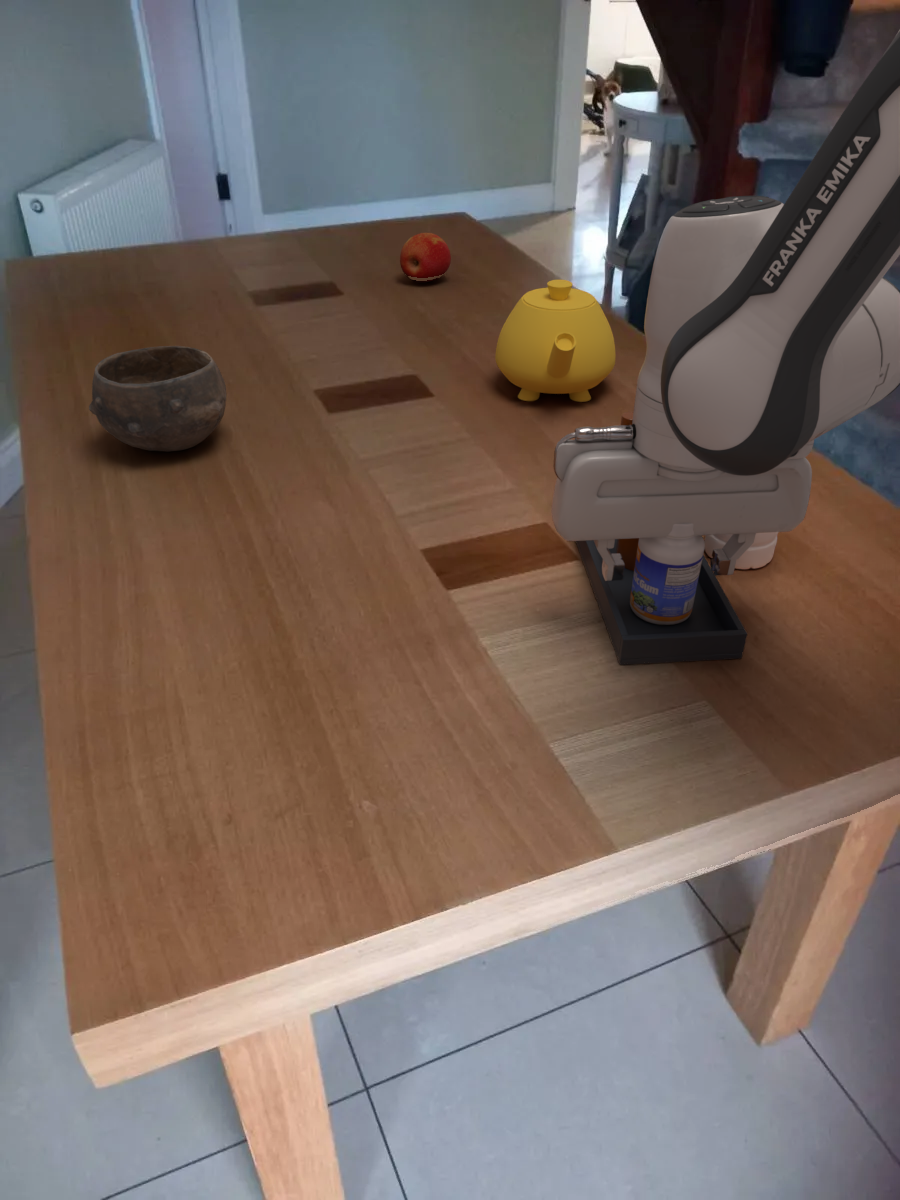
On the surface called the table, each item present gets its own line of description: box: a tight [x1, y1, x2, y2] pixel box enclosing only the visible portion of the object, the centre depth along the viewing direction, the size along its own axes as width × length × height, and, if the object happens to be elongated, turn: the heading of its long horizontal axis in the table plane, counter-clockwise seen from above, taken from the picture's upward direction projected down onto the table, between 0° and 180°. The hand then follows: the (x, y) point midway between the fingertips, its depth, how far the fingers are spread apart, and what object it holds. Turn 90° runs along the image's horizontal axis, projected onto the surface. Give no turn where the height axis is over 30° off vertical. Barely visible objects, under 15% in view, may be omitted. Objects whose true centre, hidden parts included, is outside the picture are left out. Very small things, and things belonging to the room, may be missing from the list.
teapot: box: [494, 279, 617, 403], centre depth 116 cm, size 20×16×14 cm
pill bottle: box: [630, 523, 705, 625], centre depth 77 cm, size 5×5×10 cm
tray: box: [575, 539, 748, 666], centre depth 85 cm, size 27×10×3 cm, turn 4°
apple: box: [399, 232, 452, 284], centre depth 158 cm, size 8×8×8 cm
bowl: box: [88, 345, 227, 452], centre depth 105 cm, size 14×15×10 cm
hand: (666, 574), depth 78 cm, fingers open, 8 cm apart
